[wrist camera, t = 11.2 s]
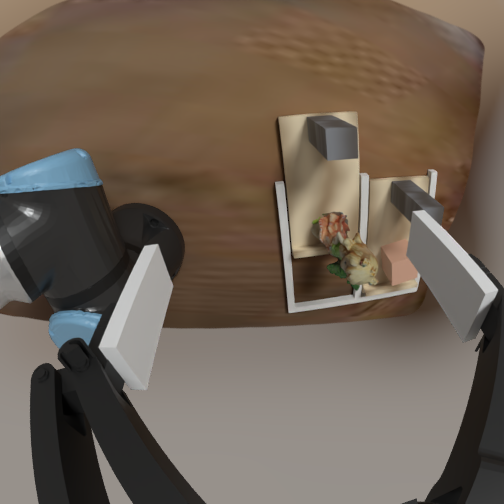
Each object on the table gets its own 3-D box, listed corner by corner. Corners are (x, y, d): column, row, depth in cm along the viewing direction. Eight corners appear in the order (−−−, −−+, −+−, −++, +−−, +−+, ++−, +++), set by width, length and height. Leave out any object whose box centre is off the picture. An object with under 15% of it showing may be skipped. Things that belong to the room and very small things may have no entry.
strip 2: (360, 289, 54) (379, 331, 45) (368, 179, 42) (399, 209, 33) (410, 280, 53) (433, 318, 44) (426, 175, 41) (464, 203, 32)
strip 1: (292, 252, 49) (302, 296, 40) (277, 116, 37) (289, 129, 28) (355, 244, 48) (377, 284, 39) (355, 111, 36) (388, 124, 27)
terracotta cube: (382, 268, 50) (392, 286, 46) (380, 246, 47) (391, 263, 43) (406, 260, 49) (417, 277, 45) (405, 238, 47) (418, 254, 43)
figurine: (309, 203, 44) (331, 255, 32) (356, 201, 44) (393, 251, 31) (308, 254, 49) (325, 316, 36) (351, 251, 49) (380, 310, 36)
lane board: (288, 308, 56) (288, 313, 55) (274, 182, 42) (275, 184, 41) (414, 287, 54) (416, 291, 53) (433, 169, 41) (437, 171, 40)
